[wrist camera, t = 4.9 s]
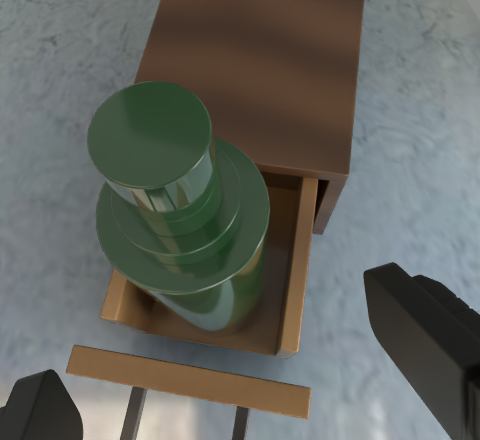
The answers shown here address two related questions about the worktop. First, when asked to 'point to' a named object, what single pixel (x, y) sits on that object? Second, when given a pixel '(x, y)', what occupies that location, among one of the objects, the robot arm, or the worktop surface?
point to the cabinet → (268, 80)
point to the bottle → (180, 207)
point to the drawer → (249, 340)
